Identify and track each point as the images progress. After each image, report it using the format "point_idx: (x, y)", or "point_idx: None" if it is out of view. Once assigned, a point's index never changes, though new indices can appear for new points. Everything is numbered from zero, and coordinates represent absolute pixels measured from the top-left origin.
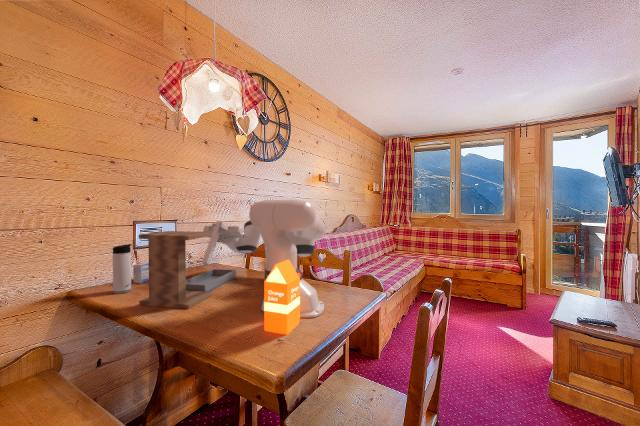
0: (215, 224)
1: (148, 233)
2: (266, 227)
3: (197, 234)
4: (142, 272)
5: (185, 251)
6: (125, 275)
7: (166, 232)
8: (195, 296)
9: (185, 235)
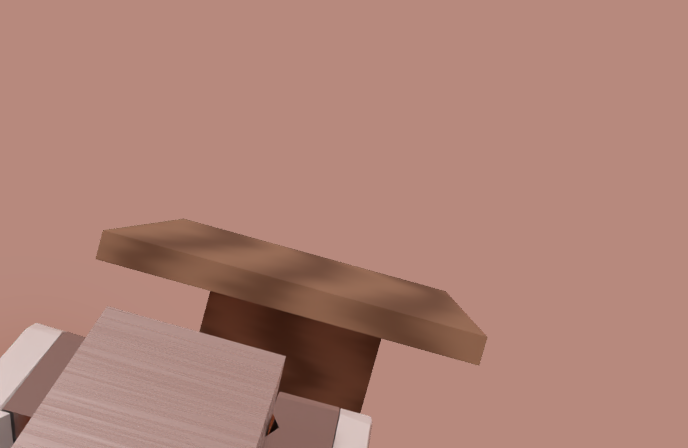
0: (266, 434)
1: (453, 301)
2: None
3: (161, 222)
4: None
5: (201, 325)
6: None
7: (404, 297)
8: None
9: (206, 226)
